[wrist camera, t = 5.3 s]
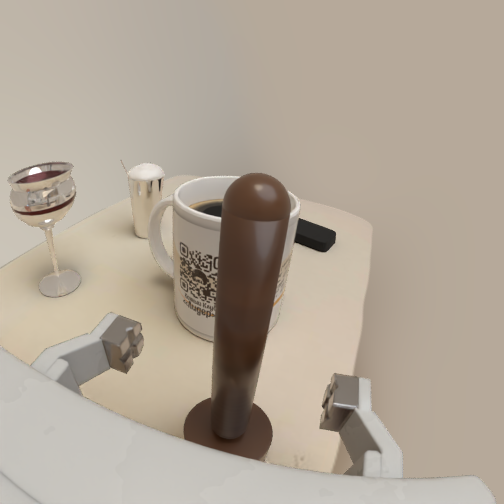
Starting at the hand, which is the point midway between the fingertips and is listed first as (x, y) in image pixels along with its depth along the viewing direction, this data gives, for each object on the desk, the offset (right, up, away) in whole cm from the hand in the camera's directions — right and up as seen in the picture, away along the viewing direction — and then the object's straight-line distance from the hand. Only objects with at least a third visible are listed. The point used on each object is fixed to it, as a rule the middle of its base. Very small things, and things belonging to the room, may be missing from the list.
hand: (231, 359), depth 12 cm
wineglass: (-19, +1, +17) cm, 26 cm away
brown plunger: (-1, -8, +5) cm, 10 cm away
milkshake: (-13, +7, +28) cm, 32 cm away
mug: (-2, -1, +18) cm, 18 cm away
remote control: (+5, +7, +34) cm, 35 cm away
